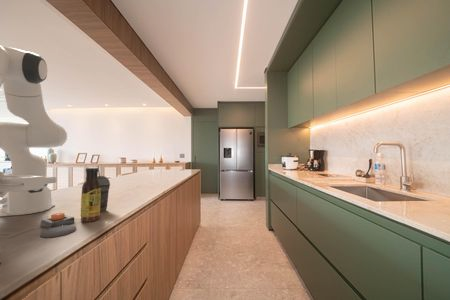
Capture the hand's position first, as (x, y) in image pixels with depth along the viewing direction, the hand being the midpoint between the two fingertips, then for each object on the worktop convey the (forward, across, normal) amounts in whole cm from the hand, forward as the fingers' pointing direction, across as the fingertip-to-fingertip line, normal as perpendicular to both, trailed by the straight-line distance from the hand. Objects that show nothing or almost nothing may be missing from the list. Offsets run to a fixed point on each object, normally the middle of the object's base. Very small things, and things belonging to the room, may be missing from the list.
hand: (47, 179), depth 66 cm
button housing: (+6, +6, +17) cm, 19 cm away
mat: (+2, -3, +17) cm, 18 cm away
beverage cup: (+23, +8, +17) cm, 30 cm away
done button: (+6, +6, +16) cm, 18 cm away
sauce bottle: (+14, 0, +17) cm, 22 cm away
